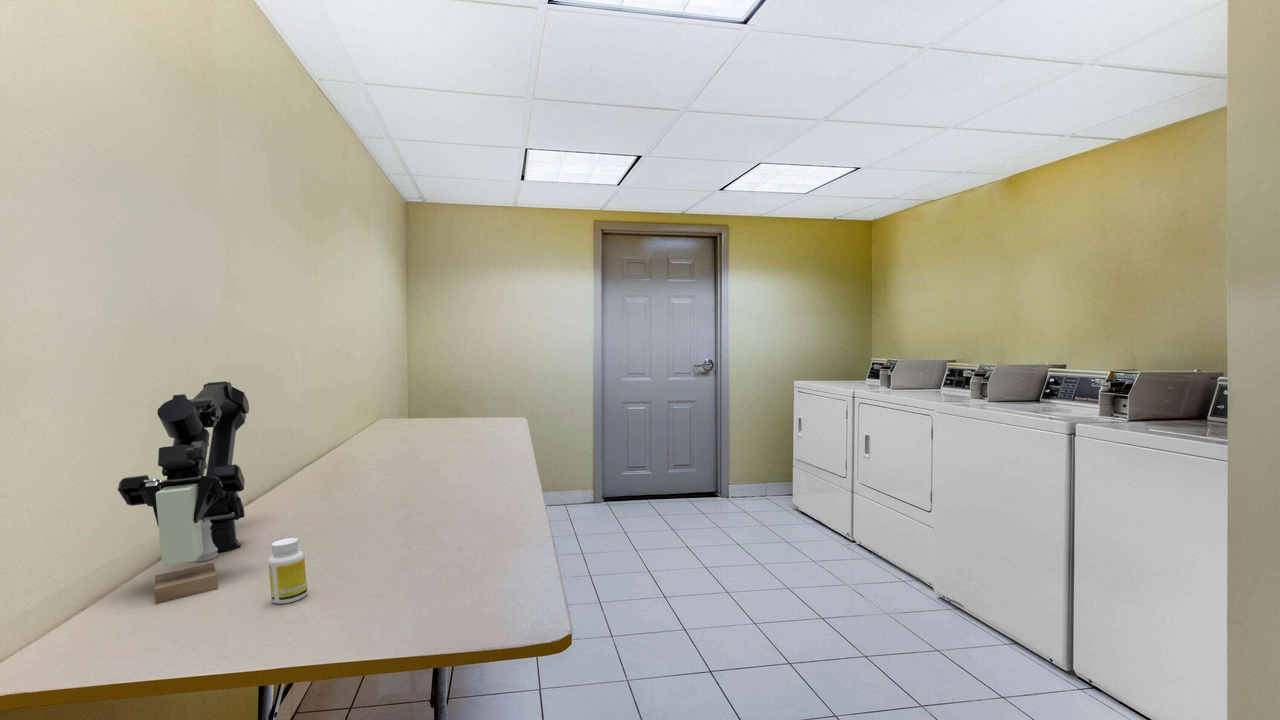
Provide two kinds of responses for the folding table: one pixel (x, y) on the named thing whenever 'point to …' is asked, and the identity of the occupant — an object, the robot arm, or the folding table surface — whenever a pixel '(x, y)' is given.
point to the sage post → (178, 524)
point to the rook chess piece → (207, 543)
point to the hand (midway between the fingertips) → (177, 524)
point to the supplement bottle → (287, 572)
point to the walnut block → (185, 583)
